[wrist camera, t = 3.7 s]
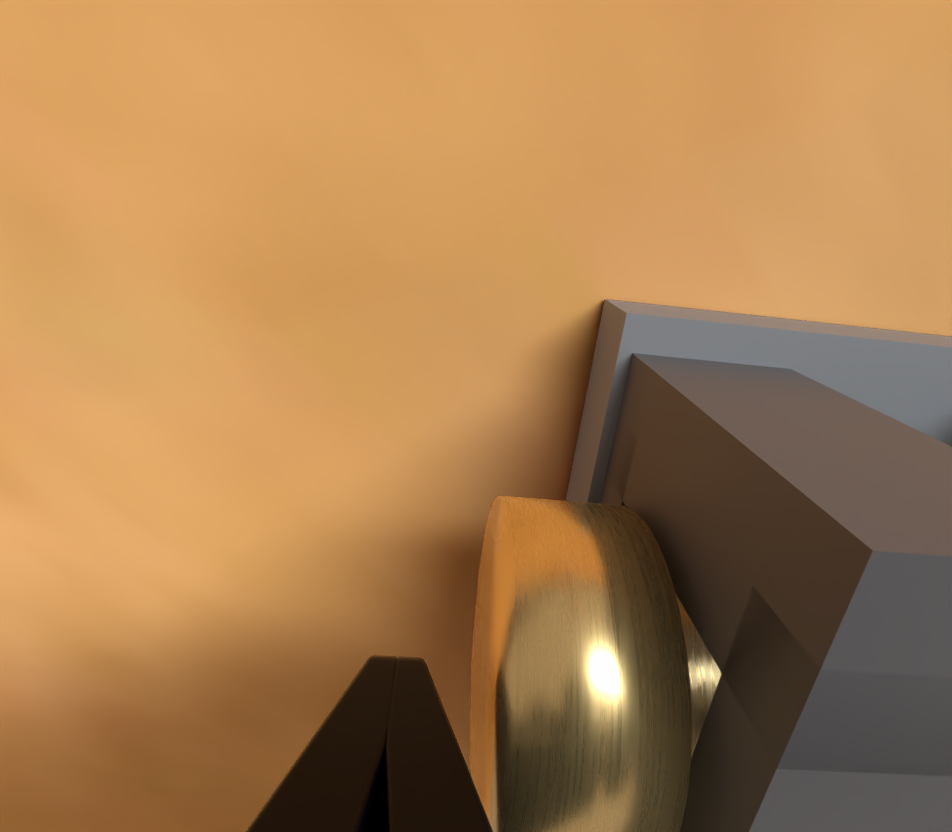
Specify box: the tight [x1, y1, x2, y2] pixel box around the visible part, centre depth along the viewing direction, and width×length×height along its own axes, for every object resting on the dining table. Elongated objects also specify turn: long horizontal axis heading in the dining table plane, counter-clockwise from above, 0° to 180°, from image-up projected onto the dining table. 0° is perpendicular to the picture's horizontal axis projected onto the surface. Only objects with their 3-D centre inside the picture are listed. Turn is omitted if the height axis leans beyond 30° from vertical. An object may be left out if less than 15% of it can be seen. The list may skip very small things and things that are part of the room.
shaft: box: [470, 496, 722, 832], centre depth 9 cm, size 15×5×5 cm, turn 84°
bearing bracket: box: [566, 299, 952, 832], centre depth 10 cm, size 12×10×8 cm
